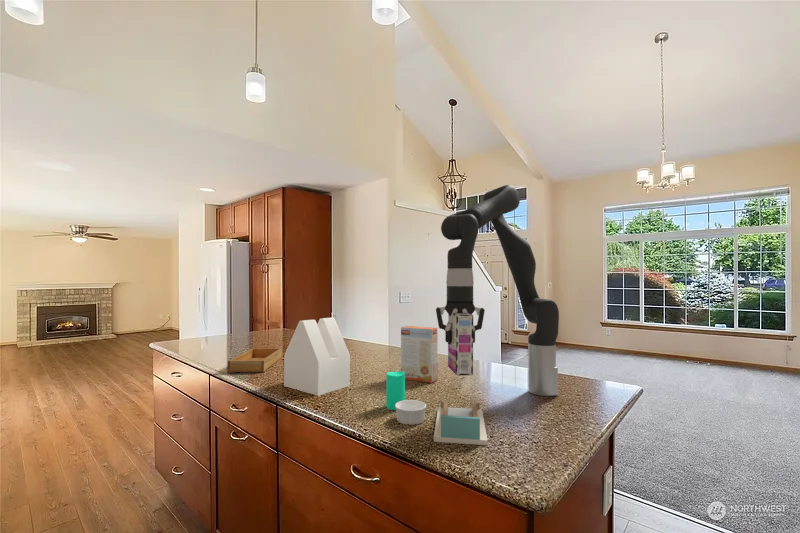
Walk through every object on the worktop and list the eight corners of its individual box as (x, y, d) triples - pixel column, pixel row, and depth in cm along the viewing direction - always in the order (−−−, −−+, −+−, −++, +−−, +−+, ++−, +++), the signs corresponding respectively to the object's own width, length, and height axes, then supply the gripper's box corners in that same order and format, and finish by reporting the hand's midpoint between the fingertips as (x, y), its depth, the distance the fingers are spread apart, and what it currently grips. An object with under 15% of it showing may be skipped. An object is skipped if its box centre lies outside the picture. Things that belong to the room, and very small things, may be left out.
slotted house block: (349, 385, 142) (350, 319, 142) (318, 396, 129) (318, 323, 130) (315, 377, 153) (316, 316, 154) (283, 386, 141) (284, 319, 142)
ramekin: (430, 424, 105) (430, 408, 105) (400, 427, 102) (400, 411, 102) (420, 413, 113) (420, 398, 113) (391, 416, 111) (391, 401, 111)
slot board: (481, 412, 113) (481, 392, 113) (487, 445, 91) (487, 419, 91) (438, 410, 115) (438, 389, 115) (433, 441, 93) (433, 416, 93)
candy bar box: (474, 375, 101) (474, 314, 102) (456, 376, 101) (455, 314, 101) (463, 366, 112) (463, 310, 113) (447, 366, 112) (447, 311, 112)
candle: (407, 404, 120) (407, 366, 121) (401, 411, 115) (401, 371, 115) (390, 402, 122) (390, 365, 123) (383, 408, 117) (383, 369, 117)
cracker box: (438, 380, 149) (438, 327, 150) (431, 383, 144) (431, 329, 145) (407, 375, 157) (407, 325, 157) (400, 378, 152) (400, 326, 152)
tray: (251, 359, 190) (251, 347, 190) (281, 358, 191) (282, 347, 191) (227, 374, 159) (227, 360, 159) (263, 374, 160) (263, 360, 160)
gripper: (484, 284, 110) (485, 342, 109) (435, 284, 112) (435, 341, 112) (486, 285, 102) (487, 347, 102) (433, 284, 105) (433, 345, 104)
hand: (460, 343), depth 107 cm, fingers closed on candy bar box, 5 cm apart
